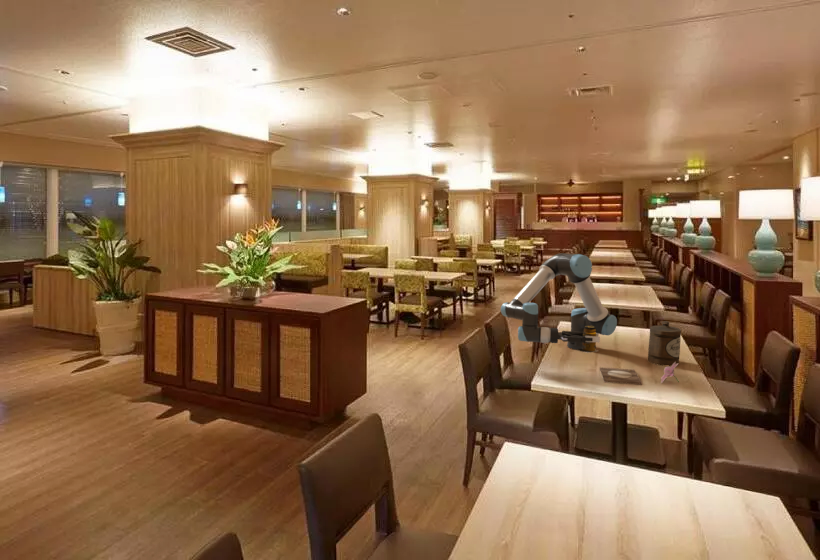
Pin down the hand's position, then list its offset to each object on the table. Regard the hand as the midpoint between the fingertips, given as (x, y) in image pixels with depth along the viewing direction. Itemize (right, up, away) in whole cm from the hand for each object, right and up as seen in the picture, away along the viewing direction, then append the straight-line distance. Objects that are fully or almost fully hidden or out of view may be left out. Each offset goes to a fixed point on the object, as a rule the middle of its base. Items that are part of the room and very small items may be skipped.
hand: (598, 337), depth 252 cm
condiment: (-5, -7, +2) cm, 8 cm away
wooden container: (+42, -15, +22) cm, 50 cm away
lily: (+29, -20, -10) cm, 36 cm away
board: (+9, -18, -3) cm, 21 cm away
